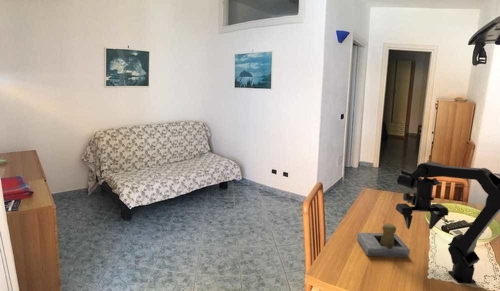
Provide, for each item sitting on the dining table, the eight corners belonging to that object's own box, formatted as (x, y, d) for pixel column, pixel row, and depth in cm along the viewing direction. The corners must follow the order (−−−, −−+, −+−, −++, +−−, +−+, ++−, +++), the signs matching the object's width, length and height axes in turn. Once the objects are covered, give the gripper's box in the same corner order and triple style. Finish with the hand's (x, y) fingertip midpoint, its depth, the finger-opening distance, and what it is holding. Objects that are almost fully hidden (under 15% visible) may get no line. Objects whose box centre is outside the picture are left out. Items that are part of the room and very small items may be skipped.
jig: (408, 257, 128) (409, 249, 128) (367, 256, 128) (368, 248, 128) (394, 240, 141) (395, 233, 140) (356, 239, 141) (357, 232, 140)
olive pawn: (381, 243, 139) (384, 220, 136) (395, 248, 135) (399, 224, 133) (376, 248, 134) (380, 225, 132) (391, 253, 131) (395, 229, 128)
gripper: (435, 186, 133) (430, 220, 136) (391, 185, 133) (387, 220, 136) (452, 195, 122) (446, 232, 125) (404, 195, 122) (400, 232, 125)
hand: (419, 228), depth 128 cm, fingers open, 9 cm apart
